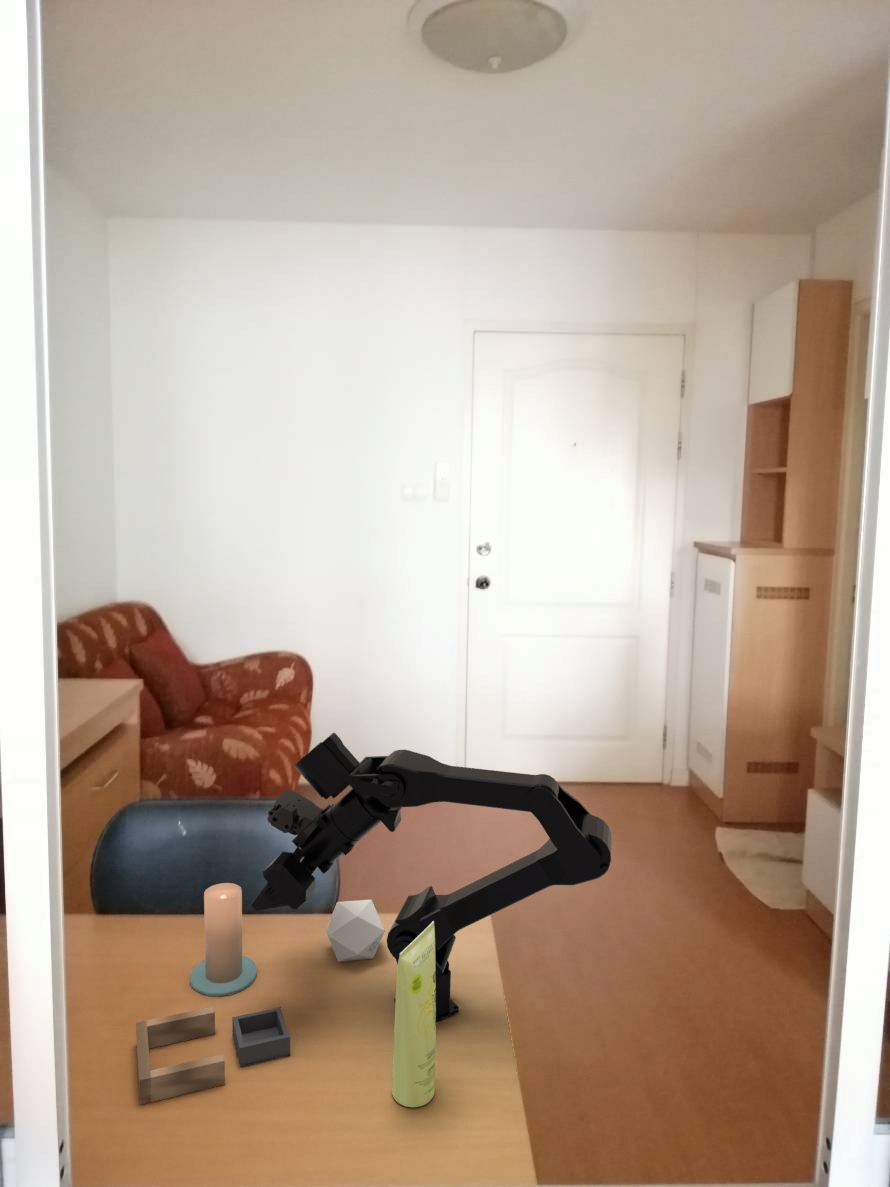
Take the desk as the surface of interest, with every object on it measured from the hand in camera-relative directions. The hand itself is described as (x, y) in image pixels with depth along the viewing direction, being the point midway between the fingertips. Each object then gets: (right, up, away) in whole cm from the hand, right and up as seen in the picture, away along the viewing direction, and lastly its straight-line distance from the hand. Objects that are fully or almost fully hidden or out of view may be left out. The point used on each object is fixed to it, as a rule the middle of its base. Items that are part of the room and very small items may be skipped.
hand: (267, 890), depth 113 cm
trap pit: (+1, -15, -10) cm, 19 cm away
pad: (-7, -13, +3) cm, 15 cm away
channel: (-7, -16, -14) cm, 22 cm away
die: (+11, -13, +9) cm, 19 cm away
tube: (+20, -17, -18) cm, 32 cm away
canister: (-7, -12, +3) cm, 15 cm away
